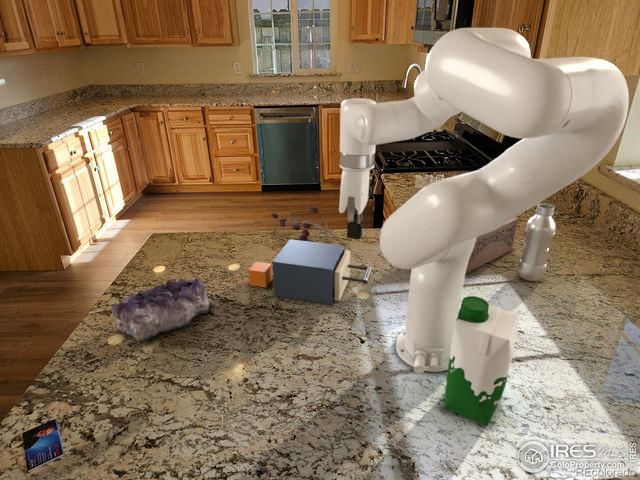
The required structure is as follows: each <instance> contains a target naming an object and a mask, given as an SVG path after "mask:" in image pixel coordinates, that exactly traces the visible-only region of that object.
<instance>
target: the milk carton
mask: <svg viewBox="0 0 640 480" xmlns="http://www.w3.org/2000/svg"><path fill="white" fill-rule="evenodd" d="M518 319H519V314H518V313H516V312H512V311H508V310H506V309H502V308H501V307H498V306H493V305H490V304H489V302H488V301H487V300H486V299H484V298H482V297H479V296H475V295H474V296H473V295H469V296H465V297H463V298H462V299H461V303H460V308H459V313H458V317H457V319H456V322H455V326H454V334H453V340H452V346H451V352H450V359H449V365H448V370H447V371H446V372H447V373H446V381H445V382H446V383H445V393H444V395H445V396H444V409H445V410H448V411H451V412H452V413H454V414H457V415H459V416H461V417H462V416H463V417H465V418H467V419H469V420H471V421H473V422H476V423H479V424H481V425H484V426H486V427H488V426H489V424H490V423H491V420H492V418H493V415H494V414H495V412H496V409H497V408H498V406H499V404H500V401H501V400H502V397H503V394H504V391H505V389H506V385H507V381H508V377H509V372H510V368H511V364H512V360H513V356H514V350H515V345H516V338H517V327H518Z"/></svg>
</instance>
